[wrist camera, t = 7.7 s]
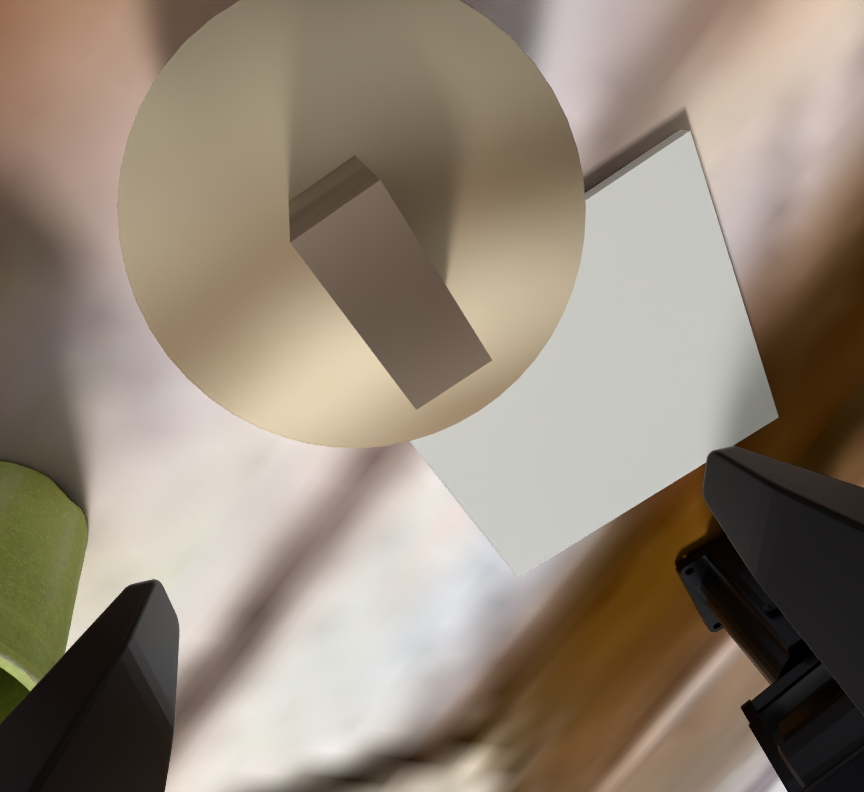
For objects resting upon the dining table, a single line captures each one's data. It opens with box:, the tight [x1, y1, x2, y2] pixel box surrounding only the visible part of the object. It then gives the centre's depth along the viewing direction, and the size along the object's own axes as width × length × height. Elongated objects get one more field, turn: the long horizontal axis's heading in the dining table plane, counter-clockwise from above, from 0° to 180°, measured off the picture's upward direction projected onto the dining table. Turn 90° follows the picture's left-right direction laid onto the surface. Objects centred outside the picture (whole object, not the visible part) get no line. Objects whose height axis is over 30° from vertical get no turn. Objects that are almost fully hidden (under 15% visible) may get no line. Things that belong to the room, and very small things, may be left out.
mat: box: [410, 130, 779, 578], centre depth 24 cm, size 14×14×1 cm
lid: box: [117, 0, 586, 448], centre depth 13 cm, size 11×11×5 cm
